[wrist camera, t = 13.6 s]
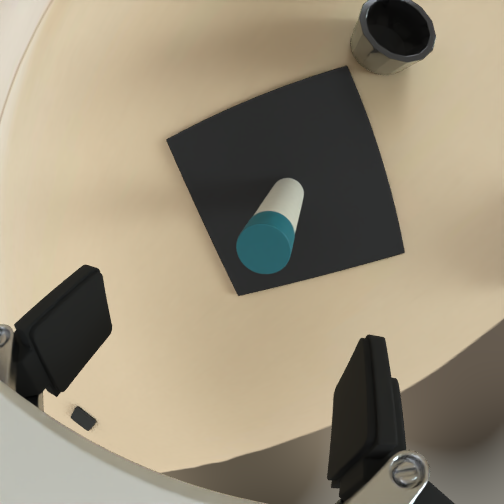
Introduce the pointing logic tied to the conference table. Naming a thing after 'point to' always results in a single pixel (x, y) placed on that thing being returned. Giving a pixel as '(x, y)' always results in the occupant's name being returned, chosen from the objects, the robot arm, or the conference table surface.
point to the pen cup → (391, 35)
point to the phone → (83, 419)
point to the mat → (295, 167)
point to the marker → (272, 229)
